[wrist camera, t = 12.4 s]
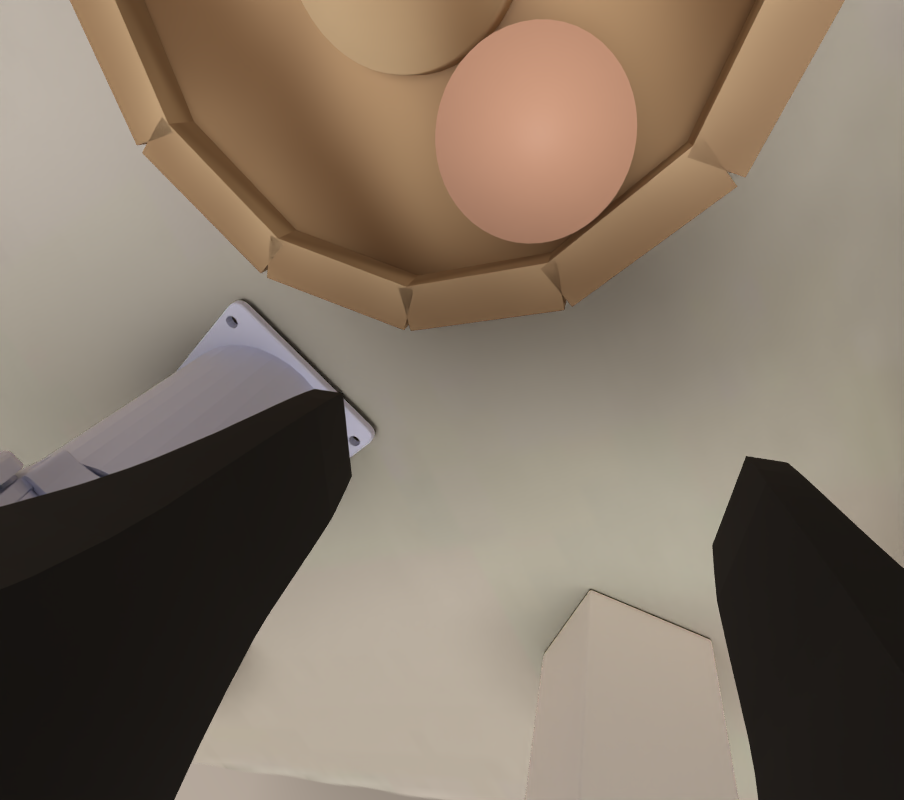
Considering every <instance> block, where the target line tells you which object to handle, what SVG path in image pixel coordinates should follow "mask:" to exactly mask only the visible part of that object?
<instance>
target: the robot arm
mask: <svg viewBox="0 0 904 800" xmlns="http://www.w3.org/2000/svg"><path fill="white" fill-rule="evenodd" d="M232 317H234V318H235V319H236V320H237V323H238V324H236V323H235V322H234V321H233V319H232ZM353 436H355V437H357V438H358V439H359V441H357V440H355V439H354V438H353ZM374 436H375V431H374V429H373V427H372V426H371V425H370V424H369V423H368V422H367V421H366V420H365V419H364V418H363V417H362V416H361V415H360V414H359V413H358V412H357V411H356V410H355V409H354V408H353V407H352V406H351V405H350V404H349V403H348V402H347V401H346V400H345V399H344V397H343V393H338V392H337V391H336V390H335V389H334V388H333V387H332V386H331V385H330V384H329V383H328V382H327V381H326V380H325V379H324V378H323V377H322V376H321V375H320V374H319V373H318V372H317V371H316V370H315V369H314V368H313V367H311V366H310V365H309V364H308V363H307V362H306V361H305V360H304V359H303V358H302V357H301V356H300V355H299V354H298V353H297V352H296V351H295V350H294V349H293V348H292V347H291V346H290V345H289V344H288V343H287V342H286V341H285V340H284V339H283V338H282V337H281V336H280V335H279V334H278V333H277V332H276V331H275V330H274V329H273V328H272V327H271V326H270V325H269V324H268V323H267V322H266V321H265V320H264V319H263V318H262V317H261V316H260V315H259V314H258V313H257V312H256V311H255V310H254V309H253V308H252V307H251V306H250V305H249V304H248V303H246V302H245V301H242V300H237V301H235V302H233V303H231V304H230V305H229V306H228V307H227V308H226V310H225V311H224V312H223V313H222V315H221V316H220V317H219V318H218V320H217V321H216V322H215V323H214V325H213V326H212V327H211V328H210V330H209V331H208V332H207V333H206V335H205V336H204V337H203V338H202V340H201V341H200V342H199V343H198V345H197V346H196V347H195V348H194V350H193V351H192V352H191V353H190V354H189V356H188V357H187V358H186V359H185V361H184V362H183V363H182V364H181V366H180V367H179V368H178V369H177V371H176V372H175V373H173V374H172V375H170V376H169V377H167V378H166V379H164V380H163V381H161V382H160V383H158V384H157V385H155V386H154V387H152V388H150V389H149V390H147V391H146V392H144V393H143V394H141V395H140V396H138V397H137V398H135V399H134V400H132V401H131V402H129V403H128V404H126V405H124V406H123V407H121V408H120V409H118V410H117V411H115V412H114V413H112V414H111V415H109V416H108V417H106V418H105V419H103V420H101V421H100V422H98V423H97V424H95V425H94V426H92V427H91V428H89V429H88V430H86V431H85V432H83V433H82V434H80V435H79V436H77V437H75V438H74V439H72V440H71V441H69V442H68V443H66V444H65V445H63V446H62V447H60V448H59V449H57V450H56V451H54V452H52V453H51V454H49V455H48V456H46V457H45V458H43V459H42V460H40V461H38V462H36V463H33V464H31V465H29V466H27V467H25V468H23V469H22V467H23V463H22V462H21V461H20V460H19V459H18V458H17V457H16V456H15V455H14V454H13V453H12V452H10V451H5V450H4V451H1V452H0V800H174V799H175V797H176V794H177V792H178V790H179V788H180V786H181V784H182V782H183V780H184V777H185V775H186V773H187V771H188V769H189V767H190V764H191V762H192V760H193V758H194V756H195V754H196V751H197V749H198V747H199V745H200V743H201V741H202V739H203V737H204V735H205V733H206V731H207V729H208V727H209V725H210V723H211V721H212V719H213V717H214V715H215V713H216V711H217V709H218V707H219V705H220V703H221V701H222V699H223V697H224V695H225V693H226V691H227V689H228V687H229V685H230V683H231V681H232V679H233V677H234V675H235V673H236V672H237V670H238V668H239V666H240V664H241V662H242V660H243V658H244V656H245V655H246V653H247V651H248V649H249V647H250V645H251V643H252V641H253V640H254V638H255V636H256V634H257V633H258V631H259V629H260V628H261V626H262V624H263V623H264V621H265V619H266V618H267V616H268V614H269V613H270V611H271V610H272V608H273V607H274V605H275V604H276V602H277V601H278V599H279V598H280V596H281V595H282V593H283V592H284V590H285V589H286V587H287V586H288V584H289V583H290V581H291V580H292V578H293V577H294V575H295V574H296V572H297V571H298V569H299V568H300V566H301V565H302V563H303V562H304V560H305V559H306V557H307V556H308V554H309V553H310V551H311V550H312V548H313V547H314V545H315V544H316V542H317V541H318V539H319V538H320V536H321V534H322V533H323V531H324V530H325V528H326V527H327V525H328V524H329V522H330V520H331V519H332V517H333V515H334V513H335V511H336V509H337V507H338V505H339V503H340V501H341V499H342V496H343V494H344V492H345V490H346V488H347V486H348V483H349V481H350V479H351V477H352V474H351V465H350V458H351V457H352V456H353V455H355V454H356V453H357V452H359V451H360V450H361V449H363V448H364V447H365V446H367V445H368V444H369V443H370V442H371V441H372V440H373V438H374ZM712 547H713V561H714V574H715V585H716V595H717V603H718V607H719V612H720V617H721V621H722V626H723V630H724V635H725V639H726V644H727V648H728V652H729V657H730V661H731V665H732V670H733V674H734V678H735V682H736V687H737V691H738V695H739V700H740V704H741V708H742V713H743V717H744V721H745V726H746V730H747V734H748V739H749V744H750V749H751V755H752V760H753V765H754V771H755V777H756V785H757V793H758V800H904V568H903V567H901V566H900V565H899V564H898V563H897V562H896V561H895V560H894V559H892V558H891V557H890V556H889V555H888V554H887V553H886V552H885V551H884V550H882V549H881V548H880V547H879V546H878V545H877V544H876V543H875V542H874V541H873V540H871V539H870V538H869V537H868V536H867V535H866V534H865V533H864V532H863V531H862V530H861V529H860V528H858V527H857V526H856V525H855V524H854V523H853V522H852V521H851V520H850V519H849V518H848V517H847V516H846V515H844V514H843V513H842V512H841V511H840V510H839V509H838V508H837V507H836V506H835V505H834V504H833V503H832V502H831V501H830V500H828V499H827V498H826V497H825V496H824V495H823V494H822V493H821V492H820V491H819V490H818V489H817V488H816V487H815V486H813V485H812V484H811V483H810V482H809V481H808V480H807V479H806V478H805V477H804V476H803V475H801V474H800V473H799V472H798V471H797V470H796V469H794V468H793V467H792V466H791V465H790V464H788V463H786V462H780V461H774V460H767V459H761V458H754V457H748V456H746V458H745V461H744V464H743V466H742V469H741V471H740V474H739V477H738V479H737V482H736V485H735V487H734V490H733V493H732V495H731V498H730V500H729V503H728V506H727V508H726V511H725V514H724V516H723V519H722V521H721V524H720V527H719V529H718V532H717V535H716V537H715V540H714V542H713V545H712Z"/></svg>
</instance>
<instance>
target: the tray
mask: <svg viewBox="0 0 904 800" xmlns="http://www.w3.org/2000/svg"><path fill="white" fill-rule="evenodd" d="M844 1H845V0H70V2H71V4H72V6H73V8H74V10H75V12H76V15H77V17H78V19H79V21H80V23H81V25H82V28H83V30H84V32H85V34H86V36H87V38H88V41H89V43H90V45H91V47H92V49H93V51H94V53H95V56H96V58H97V60H98V62H99V64H100V66H101V69H102V71H103V73H104V75H105V77H106V79H107V82H108V84H109V86H110V88H111V90H112V92H113V95H114V97H115V99H116V101H117V103H118V105H119V108H120V110H121V112H122V114H123V116H124V118H125V121H126V123H127V125H128V127H129V129H130V131H131V134H132V136H133V138H134V140H135V142H136V144H137V145H142V144H147V145H146V147H145V149H144V151H143V152H142V153H143V154H144V155H145V156H146V157H147V158H148V159H149V160H150V161H151V162H152V163H153V164H154V165H155V166H156V167H157V168H158V169H159V170H160V171H161V172H162V174H163V175H164V176H165V177H166V178H167V179H168V180H169V181H170V182H171V183H172V184H173V185H174V186H175V187H176V188H177V189H178V190H179V191H180V192H181V193H182V194H183V195H184V196H185V197H186V198H187V199H188V200H189V201H190V202H191V203H192V204H193V205H194V206H195V207H196V208H197V209H198V210H199V211H200V212H201V213H202V214H203V215H204V216H205V217H206V218H207V219H208V220H209V221H210V222H211V223H212V224H213V225H214V226H215V227H216V228H217V229H218V230H219V231H220V232H221V233H222V234H223V235H224V236H225V237H226V238H227V239H228V241H229V242H230V243H231V244H232V245H233V246H234V247H235V248H236V249H237V250H238V251H239V252H240V253H241V254H242V255H243V256H244V257H245V258H246V259H247V260H248V261H249V262H250V263H251V264H252V265H253V266H254V267H255V268H256V269H257V270H258V271H259V272H260V273H262V272H264V271H266V270H268V273H267V278H270V279H272V280H275V281H277V282H280V283H283V284H285V285H288V286H290V287H293V288H296V289H298V290H301V291H304V292H306V293H309V294H311V295H314V296H317V297H319V298H322V299H324V300H327V301H330V302H332V303H335V304H337V305H340V306H343V307H345V308H348V309H350V310H353V311H356V312H358V313H361V314H363V315H366V316H369V317H371V318H374V319H377V320H379V321H382V322H384V323H387V324H390V325H392V326H395V327H397V328H400V329H403V330H405V328H406V327H407V326H408V325H409V326H410V330H411V331H414V330H421V329H429V328H436V327H443V326H451V325H458V324H465V323H473V322H480V321H487V320H495V319H502V318H509V317H517V316H524V315H531V314H539V313H546V312H553V311H561V310H564V309H565V305H566V300H567V301H568V302H569V304H570V305H571V306H572V307H573V306H574V305H575V304H577V303H578V302H579V301H581V300H582V299H584V298H585V297H586V296H588V295H589V294H590V293H592V292H593V291H595V290H596V289H597V288H599V287H600V286H601V285H603V284H604V283H606V282H607V281H608V280H610V279H611V278H612V277H614V276H615V275H617V274H618V273H619V272H621V271H622V270H623V269H625V268H626V267H627V266H629V265H630V264H632V263H633V262H634V261H636V260H637V259H638V258H640V257H641V256H643V255H644V254H645V253H647V252H648V251H649V250H651V249H652V248H654V247H655V246H656V245H658V244H659V243H660V242H662V241H663V240H664V239H666V238H667V237H669V236H670V235H671V234H673V233H674V232H675V231H677V230H678V229H680V228H681V227H682V226H684V225H685V224H686V223H688V222H689V221H691V220H692V219H693V218H695V217H696V216H697V215H699V214H700V213H702V212H703V211H704V210H706V209H707V208H708V207H710V206H711V205H712V204H714V203H715V202H717V201H718V200H719V199H721V198H722V197H723V196H725V195H726V194H728V193H729V192H730V191H732V190H733V189H734V188H736V187H737V186H736V184H735V183H734V181H733V180H732V178H731V177H730V175H729V174H728V173H727V171H728V172H731V173H734V174H737V175H740V176H743V177H746V175H747V174H748V172H749V170H750V168H751V166H752V165H753V163H754V161H755V159H756V158H757V156H758V154H759V152H760V150H761V149H762V147H763V145H764V143H765V141H766V140H767V138H768V136H769V134H770V133H771V131H772V129H773V127H774V125H775V124H776V122H777V120H778V118H779V117H780V115H781V113H782V111H783V109H784V108H785V106H786V104H787V102H788V100H789V99H790V97H791V95H792V93H793V92H794V90H795V88H796V86H797V84H798V83H799V81H800V79H801V77H802V76H803V74H804V72H805V70H806V68H807V67H808V65H809V63H810V61H811V60H812V58H813V56H814V54H815V52H816V51H817V49H818V47H819V45H820V43H821V42H822V40H823V38H824V36H825V35H826V33H827V31H828V29H829V27H830V26H831V24H832V22H833V20H834V19H835V17H836V15H837V13H838V11H839V10H840V8H841V6H842V4H843V2H844ZM534 19H550V20H556V21H562V22H566V23H569V24H572V25H575V26H578V27H580V28H581V29H583V30H585V31H587V32H589V33H591V34H592V35H593V36H595V37H596V38H597V39H599V40H600V41H601V42H603V44H604V45H605V46H606V47H607V48H608V49H609V50H610V51H611V52H612V53H613V54H614V56H615V57H616V59H617V60H618V61H619V63H620V64H621V66H622V68H623V70H624V72H625V74H626V76H627V78H628V80H629V83H630V86H631V89H632V91H633V95H634V100H635V105H636V113H637V138H636V145H635V150H634V155H633V158H632V162H631V165H630V168H629V171H628V173H627V175H626V177H625V180H624V182H623V184H622V186H621V187H620V189H619V191H618V192H617V194H616V196H615V197H614V198H613V200H612V201H611V202H610V203H609V205H608V206H607V207H606V208H605V209H604V210H603V211H602V212H601V213H600V214H599V215H598V216H597V217H596V218H595V219H594V220H592V221H591V222H590V223H589V224H588V225H586V226H584V227H583V228H581V229H580V230H578V231H576V232H574V233H572V234H570V235H568V236H566V237H563V238H560V239H557V240H554V241H549V242H544V243H531V244H527V243H516V242H511V241H507V240H503V239H501V238H498V237H495V236H493V235H491V234H489V233H487V232H485V231H483V230H482V229H481V228H479V227H478V226H476V225H475V224H474V223H472V222H471V221H470V220H469V219H468V218H467V217H466V216H465V215H464V214H463V213H462V212H461V210H460V209H459V208H458V207H457V206H456V204H455V203H454V201H453V200H452V198H451V196H450V195H449V193H448V191H447V189H446V187H445V185H444V182H443V179H442V176H441V174H440V171H439V166H438V162H437V156H436V147H435V129H436V120H437V114H438V110H439V105H440V102H441V99H442V96H443V93H444V90H445V88H446V86H447V84H448V82H449V80H450V78H451V76H452V74H453V73H454V71H455V70H456V68H457V66H458V65H459V63H460V62H461V61H462V60H463V59H464V57H465V56H466V55H467V54H468V53H469V52H470V51H471V50H472V49H473V48H474V47H475V46H476V45H477V44H478V43H479V42H481V41H482V40H483V39H485V38H486V37H488V36H489V35H491V34H492V33H494V32H496V31H498V30H500V29H502V28H504V27H506V26H509V25H512V24H515V23H518V22H522V21H528V20H534Z"/></svg>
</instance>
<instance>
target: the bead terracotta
mask: <svg viewBox="0 0 904 800" xmlns="http://www.w3.org/2000/svg"><path fill="white" fill-rule="evenodd" d="M636 138H637V113H636V105H635V100H634V95H633V91H632V89H631V86H630V83H629V80H628V78H627V76H626V74H625V72H624V70H623V68H622V66H621V64H620V63H619V61H618V60H617V59H616V57H615V56H614V54H613V53H612V52H611V51H610V50H609V49H608V48H607V47H606V46H605V45H604V44H603V42H601V41H600V40H599V39H597V38H596V37H595V36H593V35H592V34H591V33H589V32H587V31H585V30H583V29H581V28H580V27H578V26H575V25H572V24H569V23H566V22H562V21H556V20H550V19H534V20H528V21H522V22H518V23H515V24H512V25H509V26H506V27H504V28H502V29H500V30H498V31H496V32H494V33H492V34H491V35H489V36H488V37H486V38H485V39H483V40H482V41H481V42H479V43H478V44H477V45H476V46H475V47H474V48H473V49H472V50H471V51H470V52H469V53H468V54H467V55H466V56H465V57H464V59H463V60H462V61H461V62H460V63H459V65H458V66H457V68H456V70H455V71H454V73H453V74H452V76H451V78H450V80H449V82H448V84H447V86H446V88H445V90H444V93H443V96H442V99H441V102H440V105H439V110H438V114H437V120H436V129H435V147H436V156H437V162H438V166H439V171H440V174H441V176H442V179H443V182H444V185H445V187H446V189H447V191H448V193H449V195H450V196H451V198H452V200H453V201H454V203H455V204H456V206H457V207H458V208H459V209H460V210H461V212H462V213H463V214H464V215H465V216H466V217H467V218H468V219H469V220H470V221H471V222H472V223H474V224H475V225H476V226H478V227H479V228H481V229H482V230H483V231H485V232H487V233H489V234H491V235H493V236H495V237H498V238H501V239H503V240H507V241H511V242H516V243H527V244H531V243H544V242H549V241H554V240H557V239H560V238H563V237H566V236H568V235H570V234H572V233H574V232H576V231H578V230H580V229H581V228H583V227H584V226H586V225H588V224H589V223H590V222H591V221H592V220H594V219H595V218H596V217H597V216H598V215H599V214H600V213H601V212H602V211H603V210H604V209H605V208H606V207H607V206H608V205H609V203H610V202H611V201H612V200H613V198H614V197H615V196H616V194H617V192H618V191H619V189H620V187H621V186H622V184H623V182H624V180H625V177H626V175H627V173H628V171H629V168H630V165H631V162H632V158H633V155H634V150H635V145H636Z"/></svg>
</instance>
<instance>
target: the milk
mask: <svg viewBox="0 0 904 800" xmlns="http://www.w3.org/2000/svg"><path fill="white" fill-rule="evenodd" d="M525 800H739V798H738V792H737V786H736V780H735V774H734V768H733V763H732V757H731V751H730V745H729V739H728V733H727V728H726V722H725V716H724V710H723V704H722V699H721V693H720V687H719V681H718V675H717V669H716V664H715V658H714V652H713V646H712V642H711V640H709V639H707V638H705V637H703V636H700V635H698V634H695V633H693V632H691V631H688V630H686V629H684V628H681V627H679V626H676V625H674V624H672V623H669V622H667V621H664V620H662V619H660V618H657V617H655V616H652V615H650V614H648V613H645V612H643V611H640V610H638V609H636V608H633V607H631V606H629V605H626V604H624V603H621V602H619V601H617V600H614V599H612V598H609V597H607V596H605V595H602V594H600V593H597V592H595V591H592V590H590V591H589V592H588V593H587V595H586V596H585V598H584V599H583V600H582V602H581V603H580V605H579V606H578V607H577V609H576V610H575V612H574V613H573V614H572V616H571V617H570V619H569V620H568V621H567V623H566V624H565V626H564V627H563V628H562V630H561V631H560V633H559V634H558V635H557V637H556V638H555V639H554V641H553V642H552V644H551V645H550V646H549V648H548V649H547V651H546V652H545V653H544V656H543V662H542V669H541V677H540V685H539V693H538V701H537V709H536V717H535V724H534V732H533V740H532V748H531V756H530V764H529V771H528V779H527V787H526V795H525Z"/></svg>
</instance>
